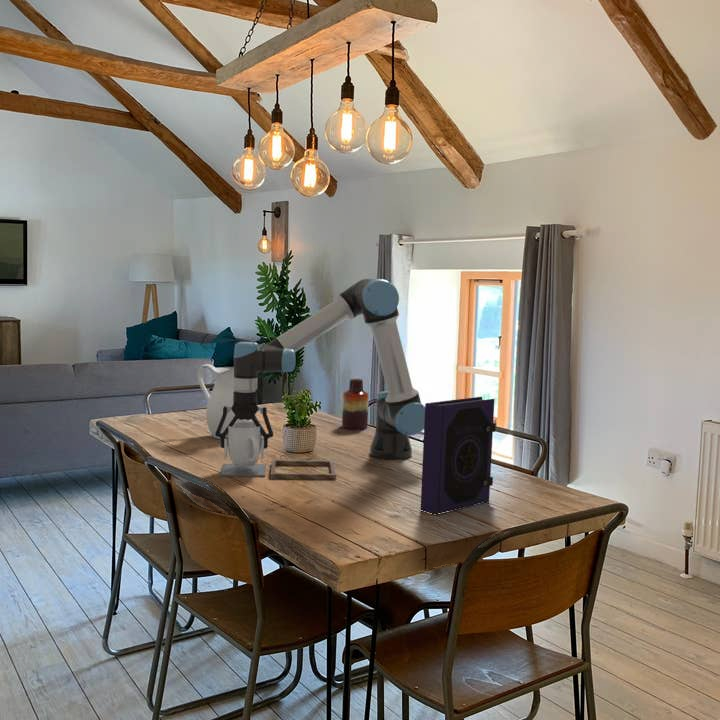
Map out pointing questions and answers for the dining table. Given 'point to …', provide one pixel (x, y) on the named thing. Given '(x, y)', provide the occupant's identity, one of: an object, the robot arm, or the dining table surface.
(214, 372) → the pitcher
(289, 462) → the frame
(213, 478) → the dining table surface
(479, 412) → the book
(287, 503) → the dining table surface
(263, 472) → the slate trivet
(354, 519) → the dining table surface
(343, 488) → the dining table surface
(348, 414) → the vase
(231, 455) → the mug
